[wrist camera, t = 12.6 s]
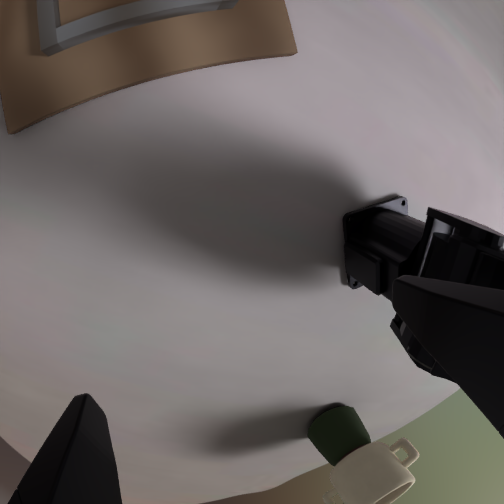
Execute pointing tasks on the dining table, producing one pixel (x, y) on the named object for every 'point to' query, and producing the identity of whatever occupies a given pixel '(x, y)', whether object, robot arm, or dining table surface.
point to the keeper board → (123, 46)
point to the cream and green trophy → (360, 460)
